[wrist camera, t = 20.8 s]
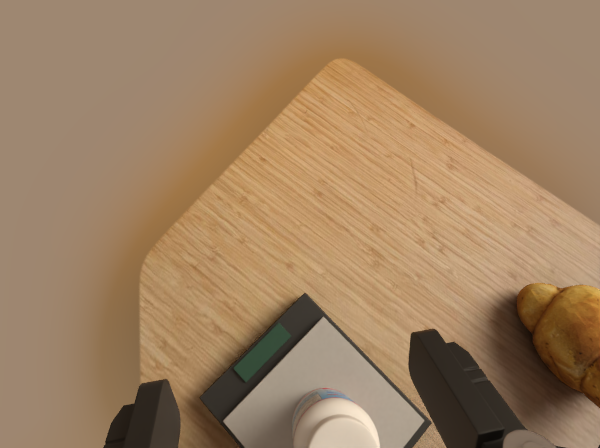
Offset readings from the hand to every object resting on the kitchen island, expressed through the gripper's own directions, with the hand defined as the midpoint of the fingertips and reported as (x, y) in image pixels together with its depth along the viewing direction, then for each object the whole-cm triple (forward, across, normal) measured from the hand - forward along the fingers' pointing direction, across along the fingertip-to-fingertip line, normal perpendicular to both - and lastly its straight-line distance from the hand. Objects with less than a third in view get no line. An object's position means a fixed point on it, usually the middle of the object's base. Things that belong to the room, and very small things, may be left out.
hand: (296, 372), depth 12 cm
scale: (+15, +2, -23) cm, 28 cm away
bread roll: (+17, +30, -22) cm, 40 cm away
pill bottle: (+12, +3, -22) cm, 25 cm away
